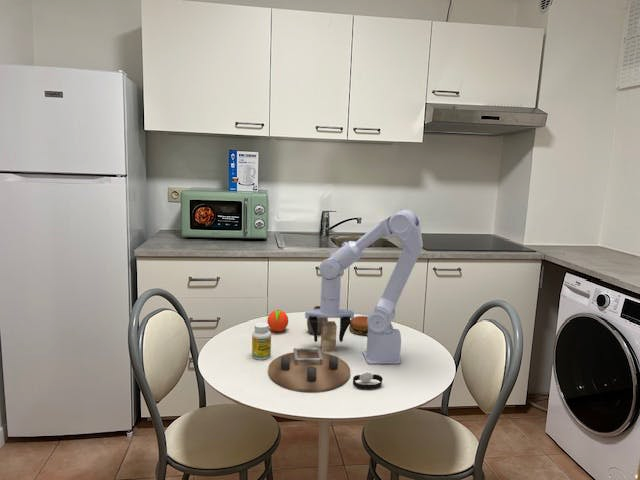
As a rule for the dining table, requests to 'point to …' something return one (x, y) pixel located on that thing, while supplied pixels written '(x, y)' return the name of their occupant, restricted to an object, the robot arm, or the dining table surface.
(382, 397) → the dining table surface
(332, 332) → the stool leg
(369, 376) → the watch
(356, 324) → the burger
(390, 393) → the dining table surface
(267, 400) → the dining table surface
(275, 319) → the clementine
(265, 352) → the supplement bottle
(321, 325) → the vase
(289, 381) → the stool seat
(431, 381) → the dining table surface
